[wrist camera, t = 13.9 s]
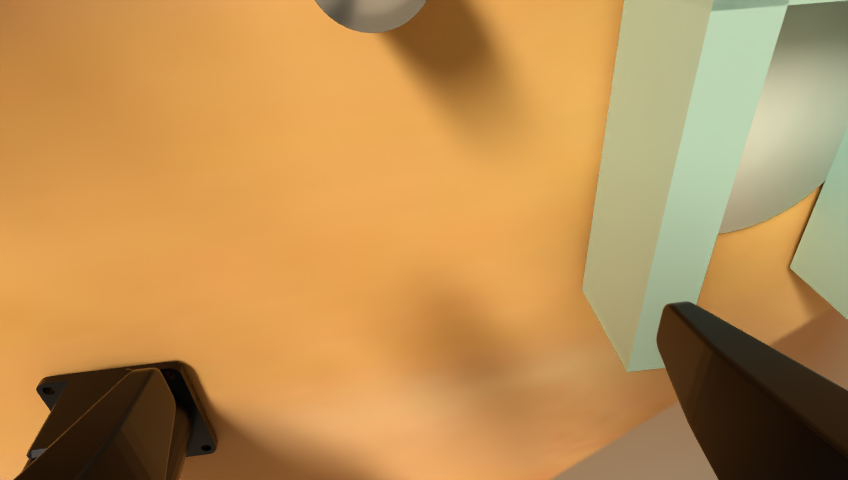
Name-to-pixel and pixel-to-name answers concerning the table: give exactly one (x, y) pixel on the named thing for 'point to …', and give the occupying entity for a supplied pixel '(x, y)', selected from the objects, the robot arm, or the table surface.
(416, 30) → the table surface
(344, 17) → the peg
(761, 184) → the cream oval dome
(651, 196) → the c link
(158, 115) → the table surface
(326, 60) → the table surface
